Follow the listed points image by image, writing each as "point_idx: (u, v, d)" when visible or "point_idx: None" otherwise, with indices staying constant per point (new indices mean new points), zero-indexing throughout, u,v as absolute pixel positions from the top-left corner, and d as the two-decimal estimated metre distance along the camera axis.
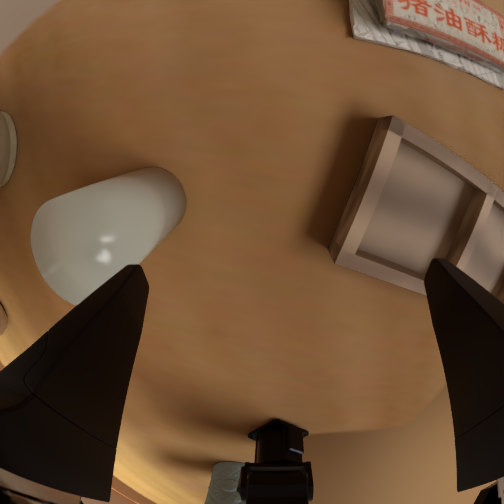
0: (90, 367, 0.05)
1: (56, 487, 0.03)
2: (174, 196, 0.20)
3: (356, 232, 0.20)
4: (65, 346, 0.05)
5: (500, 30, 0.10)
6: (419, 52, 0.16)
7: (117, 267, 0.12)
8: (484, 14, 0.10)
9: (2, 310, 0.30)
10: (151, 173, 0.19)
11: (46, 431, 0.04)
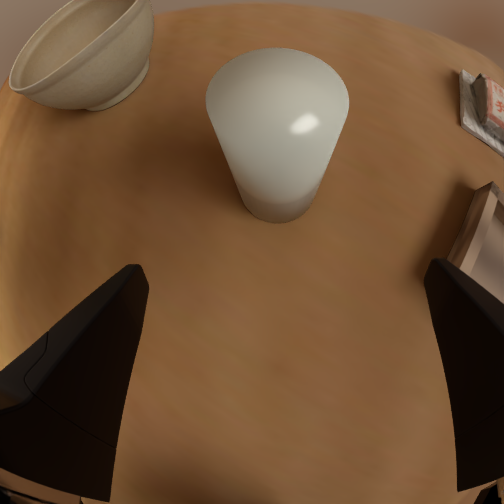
0: (90, 367, 0.05)
1: (56, 487, 0.03)
2: None
3: (466, 267, 0.17)
4: (65, 346, 0.05)
5: None
6: (501, 150, 0.20)
7: (342, 125, 0.10)
8: None
9: None
10: None
11: (46, 432, 0.04)
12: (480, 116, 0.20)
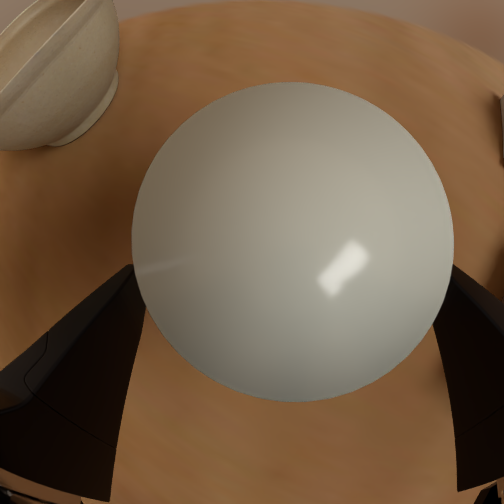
0: (90, 367, 0.05)
1: (56, 487, 0.03)
2: None
3: None
4: (65, 346, 0.05)
5: None
6: None
7: (433, 310, 0.04)
8: None
9: None
10: None
11: (45, 431, 0.04)
12: None
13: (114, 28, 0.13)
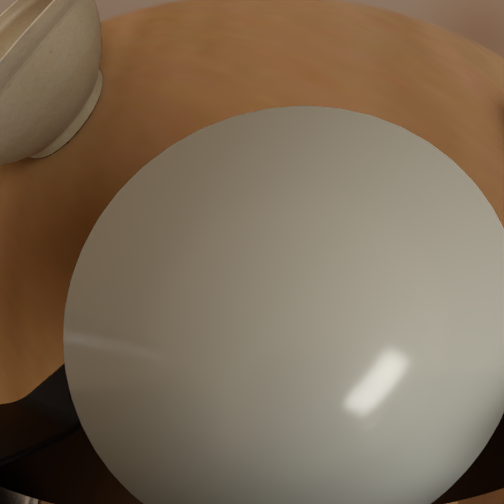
0: None
1: None
2: None
3: None
4: None
5: None
6: None
7: (472, 449, 0.02)
8: None
9: None
10: None
11: None
12: None
13: (93, 27, 0.11)
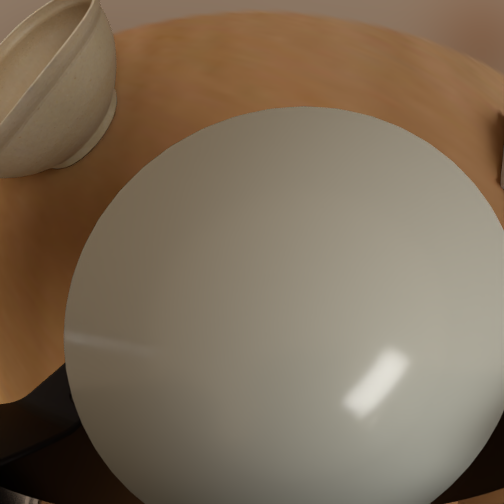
0: None
1: None
2: None
3: None
4: None
5: None
6: None
7: (471, 449, 0.02)
8: None
9: None
10: None
11: (98, 453, 0.03)
12: None
13: (110, 51, 0.13)
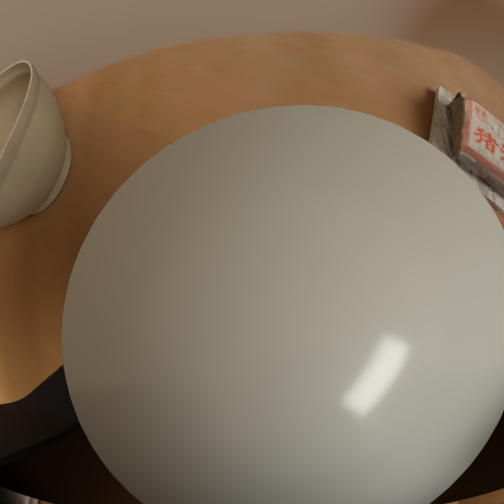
0: None
1: None
2: None
3: None
4: None
5: None
6: None
7: (471, 449, 0.02)
8: None
9: None
10: None
11: None
12: (454, 147, 0.19)
13: (54, 116, 0.17)
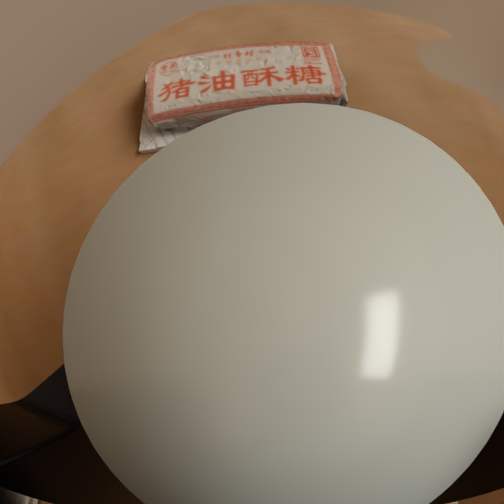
0: None
1: None
2: None
3: None
4: None
5: (303, 59, 0.18)
6: None
7: (472, 447, 0.02)
8: (277, 53, 0.18)
9: None
10: None
11: None
12: None
13: None
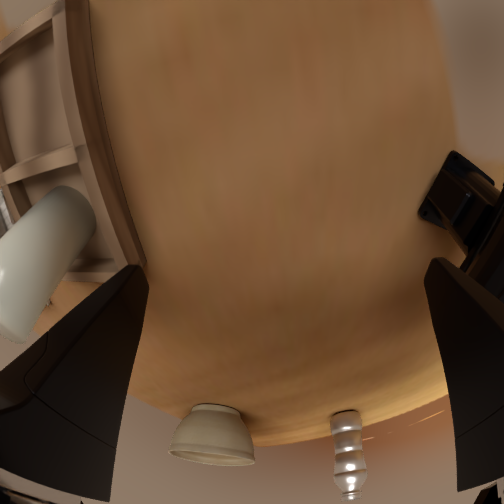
0: (90, 367, 0.05)
1: (56, 487, 0.03)
2: (44, 199, 0.17)
3: (107, 277, 0.23)
4: (65, 346, 0.05)
5: None
6: None
7: None
8: None
9: (339, 414, 0.47)
10: None
11: (45, 432, 0.04)
12: None
13: (179, 430, 0.41)
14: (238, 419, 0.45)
